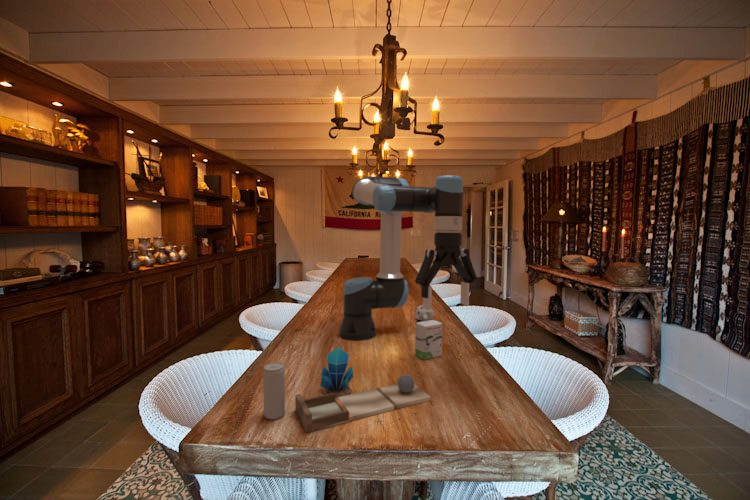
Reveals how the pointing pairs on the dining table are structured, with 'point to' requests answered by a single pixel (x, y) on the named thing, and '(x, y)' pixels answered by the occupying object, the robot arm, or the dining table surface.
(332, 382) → the gemstone
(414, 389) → the lane
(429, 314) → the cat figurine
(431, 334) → the ink box
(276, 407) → the beverage can
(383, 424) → the dining table surface
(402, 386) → the ball
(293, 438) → the dining table surface
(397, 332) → the dining table surface
